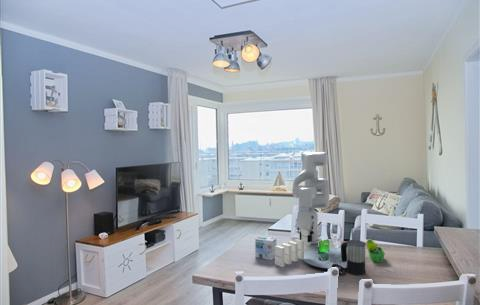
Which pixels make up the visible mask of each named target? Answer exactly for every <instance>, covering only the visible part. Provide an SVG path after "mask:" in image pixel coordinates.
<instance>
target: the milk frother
mask: <svg viewBox="0 0 480 305" xmlns="http://www.w3.org/2000/svg"><path fill="white" fill-rule="evenodd" d="M366 246H367V243H366V241H362V240H358V239H350V240H347V241H344V242H342V243H341V245H340V258H341V259H340V261H341V262H342V263H346V262H347V263H346V267H343V266H342V265H340V264H339V263H332V264H331V266H330V267H336V268H338V269H339V274H338V275H340V276H343V275H345V274H346V272H347V273H349V274H352V275H357V276H361V275H366Z"/></svg>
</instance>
